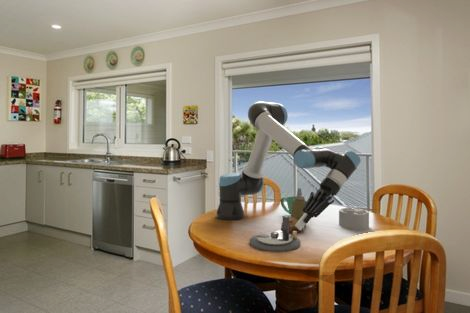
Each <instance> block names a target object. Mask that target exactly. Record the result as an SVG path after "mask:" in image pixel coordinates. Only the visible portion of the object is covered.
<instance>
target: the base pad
mask: <svg viewBox="0 0 470 313" xmlns="http://www.w3.org/2000/svg"><path fill="white" fill-rule="evenodd" d="M297 234H298V233H297V231H293V234H292V235H291V236H292V242H291V243H290V244H287V245H280V246H273V245H265V244H262V243H260V242H258V241H257V235H258V234H256V235H253V236H251V237H250V238H249V245H250V246H251V247H252V248H253V249H257V250H259V251H263V252H271V253H272V252H273V253H280V252H281V253H283V251H285V252H291V251H294V250H297V249H298V248H300V247H301V240H300V239H299V238H298V236H297ZM290 250H291V251H290Z"/></svg>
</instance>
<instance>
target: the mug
mask: <svg viewBox="0 0 470 313" xmlns="http://www.w3.org/2000/svg"><path fill="white" fill-rule="evenodd" d="M294 199H295V196H287V197H285V196H283V197H282V198H280V206H281V207H282V209H283V210H284V211H285V213H287V214H289V215H290V216H291V213H292V202H293V200H294ZM284 200H285V201H286V204H287V206H286V205H285V203H284V202H285V201H284ZM304 200H306V198H305V197H304Z"/></svg>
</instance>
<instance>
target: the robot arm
mask: <svg viewBox="0 0 470 313" xmlns="http://www.w3.org/2000/svg"><path fill="white" fill-rule="evenodd" d="M288 114H289V113H288V111H287V108H286V107H285V106H284V105H283V104H281V103H279V102H278V103H277V102H269V101H256V102H254V103H252V104H251V105H250V106H249V109H248V111H247V118H248V121H249V122H250V123H251V125H252V126H253V127H255V128H256V129H257V130H258V131H257V133H256V137H255V140H254V143H253V146H252V150H251V153H250V156H249V158H248V161H247V165H246V167H244V168H242V172H241V173H240V172H228V173H224V174H221V175H220V177H219V181H218V182H219V183H218V186H219V205H218V207H217V211H216V218H217V219H220V220H224V221H232V220H233V221H236V220H240V219H243V218H245V211H244V207H243V204H242V197H243V196H244V197H245V196H251V195H255V194H259V193H260V192H261V191H262V190H263V189H264V186H265V181H264V177H263V173H262V171H263V168H264V164H265V162H266V158H267V156H268V153H269V150H270V148H271V144H272V141H274V142H275V144H277V145H278V146H279V147H280V148H282V149H283V150H284V151H285V152H287V153H288V154H289V156H291V157H292V159H293V162H294V164H295V166H296V167H297V168H299V169H304V170H305V169H312V168H323V167H325V168H327V169H330V171H329V172H328V173H327V174H326V176H325V177H324V178H323V179H322V181H321V182H320V184H319V189H317V190H316V192H314V191H311V192H310V194H309V196H308V199H307V200H306V204H305V206H304V207H303V209H302V210H303V212H304V214H303V215H302V216H301V217H300V219H299V220H298V222H297V223H296V224H295V226H296V227H297V228H298V229H299V230H302V229H303V230H304V227H305V226H306V225H307V224H308V223H309V222H310V220H311V219H313V218H317V217H319V216H320V215H321V213H323V212H324V211H325V210H326V209H327V208H328V207H329V206H330V205H331V204H333V203H334V202H335V200H334V198H333V197H336V195H337V194H338V193H339V192H340V191H341V189H342V187H343V186H344V185H345V184H346V182H347V181H348V180H349V179H350V177H351V176H352V174H354V172H355V171H356V170H357V169H358V167H359V165H360V164H361V162H362V161H361V157H360V156H359V155H358V154H357V153H356V152H354V151H352V150H346V151H345V152H344V153H340V152H336V151H333V150H331V149H329V148H327V147H323V146H316V147H315V148H314V149H312V148H311V147H309V146H308V145H307V144H306V143H305V142H303V141H302V140H301V139H299V138H298V137H297V136H296V135H294V133H292V132H291V131H290V130H288V129H287V128H286V127H285V126H284V125H285V124H286V123H287V121H288Z"/></svg>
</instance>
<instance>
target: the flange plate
mask: <svg viewBox="0 0 470 313" xmlns="http://www.w3.org/2000/svg"><path fill="white" fill-rule="evenodd" d="M289 217H290V216H289V215H282V222H283V232H282V231H281V230H276V231H266V232H264V231H263V232H261V233H259V234H256V235H257V241H258V242H260V243H262V244H265V245H273V246H280V245H287V244H290V243H291V242H292V236H293V235H292V234H289Z"/></svg>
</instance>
